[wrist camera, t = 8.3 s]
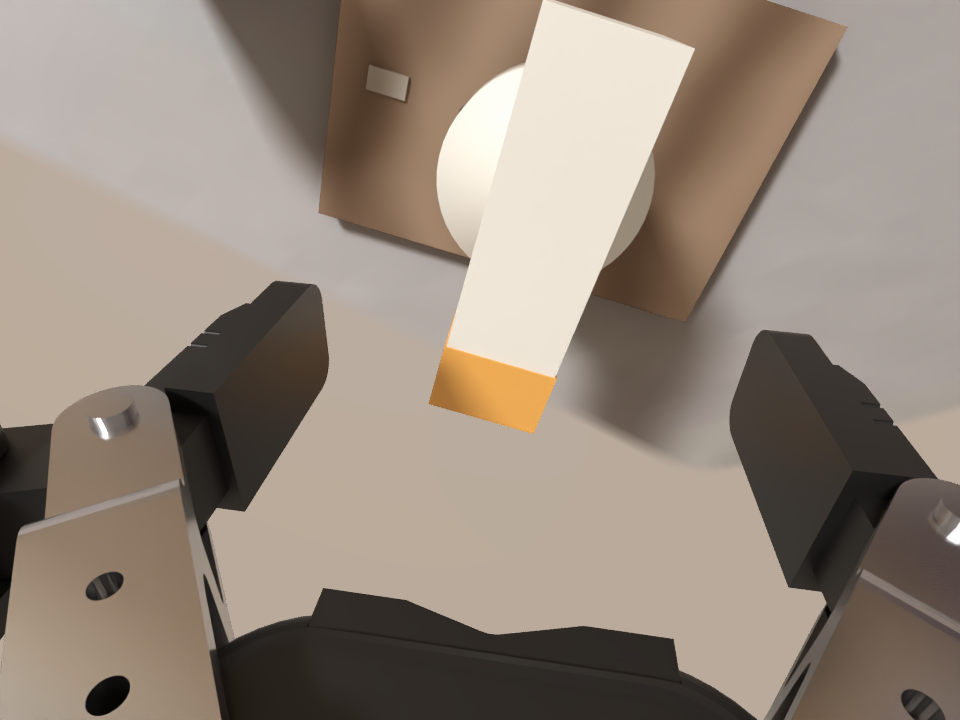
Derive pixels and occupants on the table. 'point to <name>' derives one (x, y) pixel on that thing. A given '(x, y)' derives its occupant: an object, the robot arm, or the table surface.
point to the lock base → (505, 43)
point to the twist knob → (546, 200)
